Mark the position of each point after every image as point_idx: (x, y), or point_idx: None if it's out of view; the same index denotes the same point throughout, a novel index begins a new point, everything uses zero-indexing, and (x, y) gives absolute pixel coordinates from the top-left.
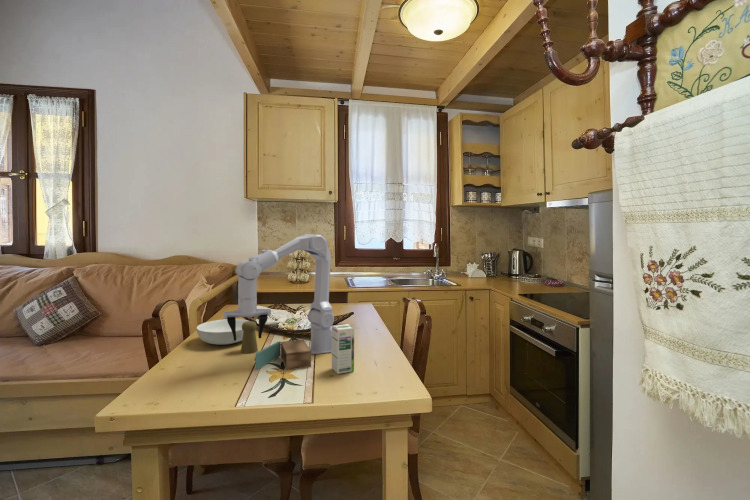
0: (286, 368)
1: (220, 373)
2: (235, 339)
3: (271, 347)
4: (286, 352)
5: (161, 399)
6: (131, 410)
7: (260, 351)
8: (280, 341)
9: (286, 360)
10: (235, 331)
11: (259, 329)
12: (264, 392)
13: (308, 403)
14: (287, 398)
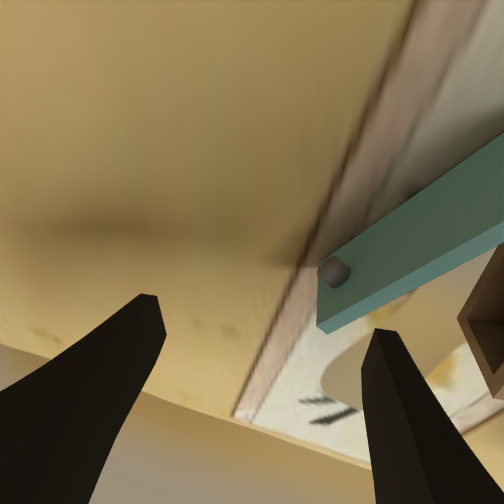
0: (460, 319)
1: (165, 231)
2: (156, 345)
3: (486, 242)
4: (501, 389)
5: (54, 327)
6: (21, 343)
7: (354, 314)
8: None
9: (476, 352)
10: (118, 428)
11: (379, 465)
12: (306, 404)
13: None
14: (352, 443)
